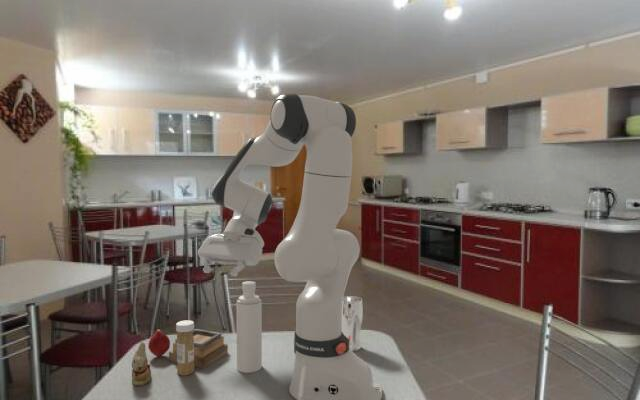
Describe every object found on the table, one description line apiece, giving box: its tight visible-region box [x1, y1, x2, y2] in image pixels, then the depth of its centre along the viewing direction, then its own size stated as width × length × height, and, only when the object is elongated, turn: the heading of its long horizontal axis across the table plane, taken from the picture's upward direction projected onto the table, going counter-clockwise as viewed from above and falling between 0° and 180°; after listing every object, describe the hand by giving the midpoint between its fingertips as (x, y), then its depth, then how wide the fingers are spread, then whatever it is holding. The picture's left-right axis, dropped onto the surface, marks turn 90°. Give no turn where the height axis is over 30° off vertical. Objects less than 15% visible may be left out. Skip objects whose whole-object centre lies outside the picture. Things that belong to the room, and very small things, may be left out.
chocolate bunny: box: [131, 341, 152, 387], centre depth 113 cm, size 6×8×10 cm
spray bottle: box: [236, 280, 263, 374], centre depth 120 cm, size 7×7×25 cm
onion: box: [147, 329, 171, 358], centre depth 127 cm, size 6×6×8 cm
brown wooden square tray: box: [168, 328, 229, 369], centre depth 128 cm, size 12×11×6 cm
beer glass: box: [342, 295, 364, 353], centre depth 135 cm, size 7×7×15 cm
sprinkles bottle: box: [175, 319, 195, 376], centre depth 117 cm, size 5×5×14 cm
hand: (219, 273), depth 131 cm, fingers open, 8 cm apart
